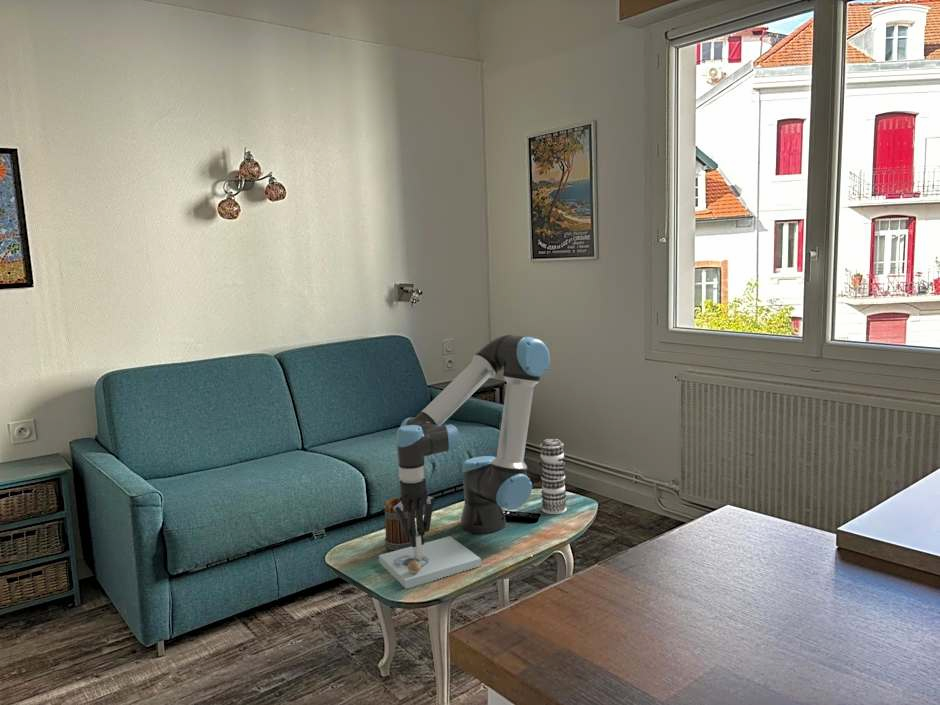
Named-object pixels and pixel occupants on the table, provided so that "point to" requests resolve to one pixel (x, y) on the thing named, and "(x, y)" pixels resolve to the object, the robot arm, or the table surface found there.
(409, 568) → the cork ball
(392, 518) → the mug
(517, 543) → the table surface
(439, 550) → the white slab
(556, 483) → the decorative candle
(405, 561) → the ball
